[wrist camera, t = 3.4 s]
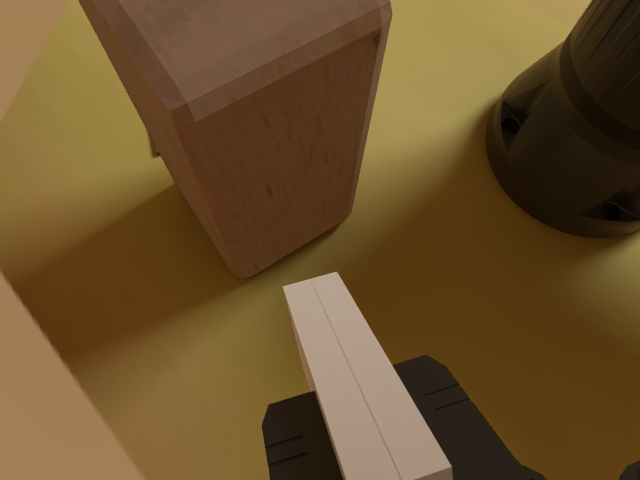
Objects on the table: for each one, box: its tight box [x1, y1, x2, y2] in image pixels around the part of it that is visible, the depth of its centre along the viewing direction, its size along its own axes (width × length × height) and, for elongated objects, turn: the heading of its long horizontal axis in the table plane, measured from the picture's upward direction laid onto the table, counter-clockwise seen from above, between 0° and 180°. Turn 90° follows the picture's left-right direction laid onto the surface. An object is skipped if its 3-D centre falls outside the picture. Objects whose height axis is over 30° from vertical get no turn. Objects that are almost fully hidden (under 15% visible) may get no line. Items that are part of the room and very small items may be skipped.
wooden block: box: [79, 0, 392, 279], centre depth 27 cm, size 10×10×20 cm
